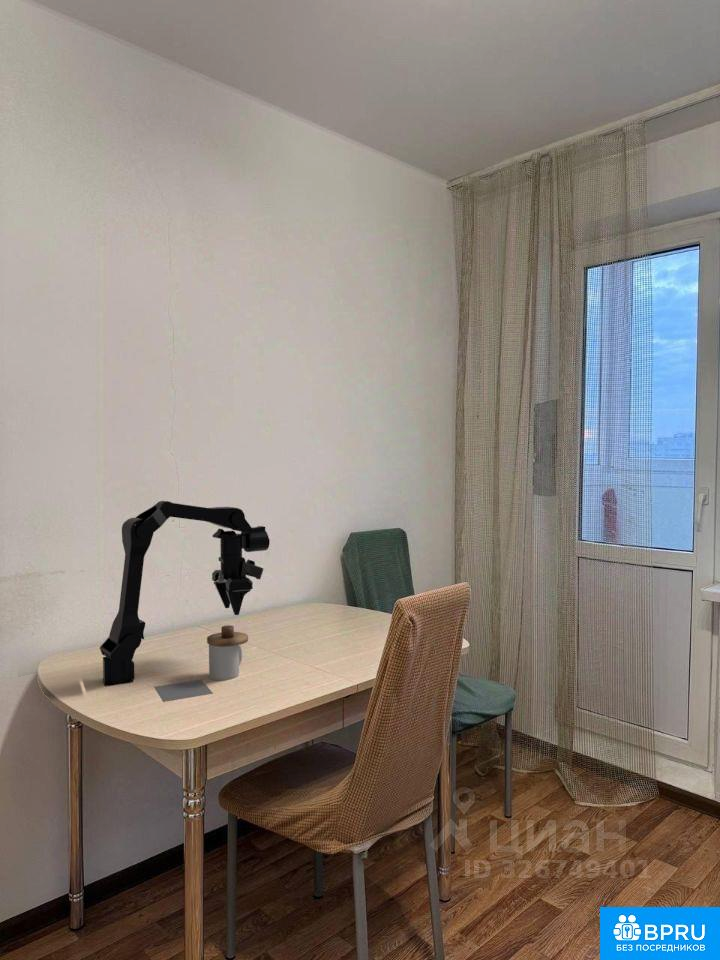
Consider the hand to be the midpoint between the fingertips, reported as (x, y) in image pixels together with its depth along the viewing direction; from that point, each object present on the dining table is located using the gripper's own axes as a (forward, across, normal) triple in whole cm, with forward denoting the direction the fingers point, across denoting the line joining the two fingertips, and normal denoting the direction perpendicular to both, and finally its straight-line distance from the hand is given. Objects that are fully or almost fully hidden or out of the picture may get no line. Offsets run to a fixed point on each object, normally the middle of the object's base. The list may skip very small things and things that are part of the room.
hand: (231, 611), depth 181 cm
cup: (+13, -13, +5) cm, 19 cm away
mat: (+13, -20, +17) cm, 30 cm away
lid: (+4, -14, +5) cm, 15 cm away
